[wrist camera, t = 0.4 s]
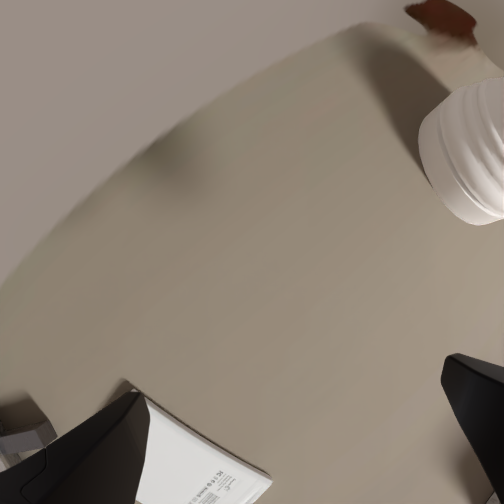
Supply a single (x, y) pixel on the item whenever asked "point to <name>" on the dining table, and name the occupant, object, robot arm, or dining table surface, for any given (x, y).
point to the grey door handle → (23, 441)
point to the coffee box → (493, 499)
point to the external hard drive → (193, 468)
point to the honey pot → (467, 151)
